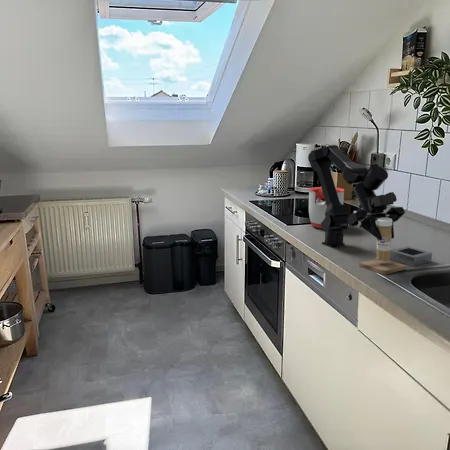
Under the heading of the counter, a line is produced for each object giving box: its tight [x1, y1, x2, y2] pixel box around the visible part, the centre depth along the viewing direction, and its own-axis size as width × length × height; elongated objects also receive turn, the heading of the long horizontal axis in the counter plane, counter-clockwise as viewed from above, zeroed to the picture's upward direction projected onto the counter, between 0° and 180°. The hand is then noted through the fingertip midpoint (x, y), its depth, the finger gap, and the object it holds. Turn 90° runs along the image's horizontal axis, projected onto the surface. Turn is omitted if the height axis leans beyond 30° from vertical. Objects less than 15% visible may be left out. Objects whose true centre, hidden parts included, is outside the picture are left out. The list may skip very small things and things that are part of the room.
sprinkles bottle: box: [375, 218, 392, 261], centre depth 137 cm, size 5×5×14 cm
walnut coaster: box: [358, 257, 407, 276], centre depth 138 cm, size 10×10×1 cm
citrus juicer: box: [308, 186, 345, 229], centre depth 190 cm, size 16×17×20 cm
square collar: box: [390, 245, 433, 267], centre depth 145 cm, size 9×9×3 cm
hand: (386, 238), depth 135 cm, fingers closed on sprinkles bottle, 4 cm apart
